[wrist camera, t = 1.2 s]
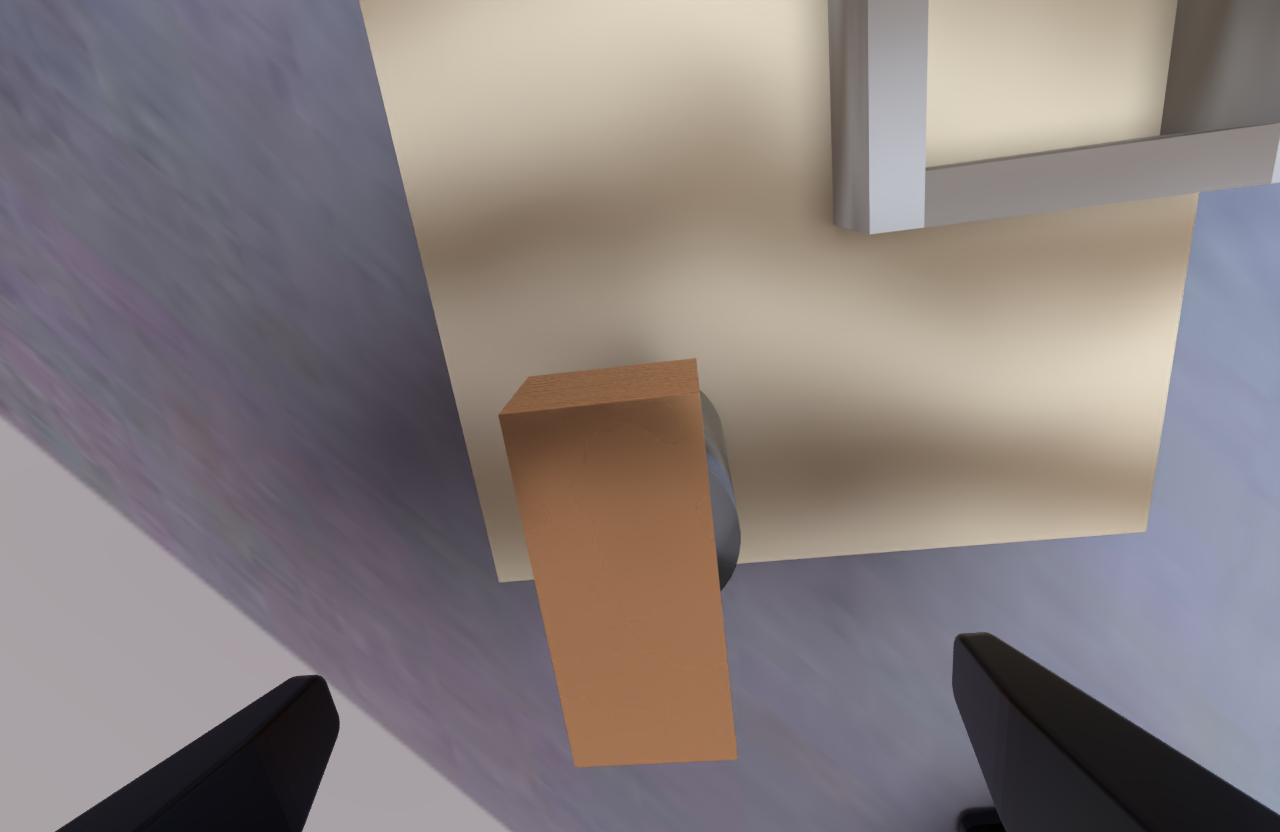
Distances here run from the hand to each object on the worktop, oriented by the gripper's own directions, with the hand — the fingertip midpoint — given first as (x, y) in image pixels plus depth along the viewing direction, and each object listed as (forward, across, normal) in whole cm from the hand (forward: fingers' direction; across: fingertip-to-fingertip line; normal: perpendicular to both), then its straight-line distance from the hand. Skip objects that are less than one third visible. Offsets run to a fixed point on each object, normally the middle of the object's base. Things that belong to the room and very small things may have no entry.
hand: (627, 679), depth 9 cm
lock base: (+9, -4, -5) cm, 11 cm away
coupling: (+9, 0, 0) cm, 9 cm away
